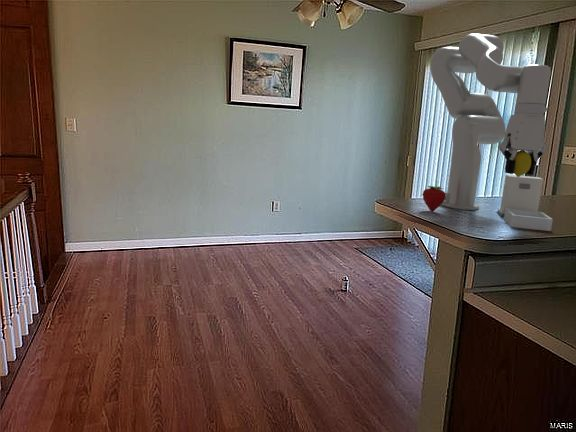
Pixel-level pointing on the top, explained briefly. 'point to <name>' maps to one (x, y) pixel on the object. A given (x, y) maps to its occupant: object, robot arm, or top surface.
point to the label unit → (521, 193)
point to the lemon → (522, 163)
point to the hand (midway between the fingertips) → (518, 173)
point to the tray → (528, 219)
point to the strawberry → (433, 197)
